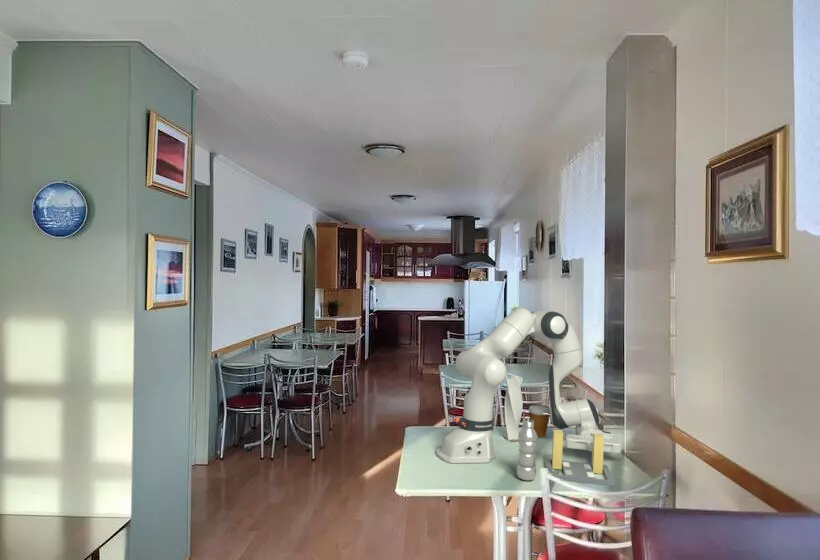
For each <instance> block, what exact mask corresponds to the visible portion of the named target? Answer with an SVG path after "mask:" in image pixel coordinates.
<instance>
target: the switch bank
mask: <svg viewBox="0 0 820 560" xmlns="http://www.w3.org/2000/svg"><path fill="white" fill-rule="evenodd" d="M591 464H592V462H591V463H590V462H580V461H574V460H573V461H572V460H563V459H562V469H561V470H562V473H563V474H559V473H558V474H557V473H554V471H553V469H552V458H544V467H546V468H547V469H548V471H549V473H551V474H552V475H553V476H555V477H558V478H560V479H563V480H567V481H566V482H572V483H573V482H574V483H581V484H582V483H585V484H593V485H600V486H610V487H615V486H616V481H615V478H614V477H613V475H612V473H611V471H610V469H609V466H608V465H607V464H603V472H602V474H603V477H604V479H603V478H596V475H595V473H593V470H592V468H591ZM563 480H562V481H563Z"/></svg>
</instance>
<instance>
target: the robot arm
mask: <svg viewBox="0 0 820 560" xmlns="http://www.w3.org/2000/svg"><path fill="white" fill-rule="evenodd" d="M491 331H492V332H490V333H489V334H488V335H487V336H486V337H485V338H484V339H482V340H481V341H479V342H478V343H476V344H475V345H473V346H472V347H470V348H469V349H466V350H464V351H461V352H460V353H459V354H458V355H457V356H456V357H455V358H456V359H455V368H456V370H457V371H458V373H459V374H461V375H462V376H463V377H464V378H467V379H470V380H471V385H470V388H469V389H470V391H469V392H468V393H467V392H466V393H467V394H465V395H464V397H463V412H462V413H463V414H462V417H461V418H459V416H455V417H453V418H454V419H453V420H454V423H456V424H458V426H457V427H455V428H454V429H453V430H452V431H450V432H449V433H448V434H447V435H445V437H443V440H442V445H441V447H440V448H439V447H438V448H436V450H435V454H436V456H437V457H438V458H440V459H441V461H444V462H446V463H450V464H482V463H483V464H488V463H490V462H491V460H493V459H494V458H496V453H495V450H494V441H493V432H494V418H493V411H494V400H495V394H496V392H497V389H498V387H499V386H500V385H501V384H502V383H503V382H504V381H505V379H506V375H507V374H506V373H508V371H507V367H506V364H505V363H504V362H503V361H502V360H501V359H504V358H507V357H509V356H510V355H512V353H514V352H515V350H516V349H517V348H518V347H519V346H520V344H521V343H523V341H524V340H525V339H526V337H527V336H528V337H531V338H536V339H540V340H549V341H550V343H551V345H552V347H551V348H552V351H553V363H552V364H551V365H550V366H549V369H548V387H549V389H548V390H549V401H550V403H549V405H550V407H549V408H550V415H549V420H550V422H551V424H552V426H554V427H555V428H557V429H558V430H564V429H567V428H569V427H570V428H571V427H574V430H575V431H574V432H575V434H572V433H571V434H570V433H568V434H566V436H565V435H563V441H565V443H564V444H565V447H566V448H567V449H574V450H582V451H583V450H584V451H587V452H591V453H592V443H593V433H596V434H602V435H603V436H604V451H603V453H614V454H620V453H621V454H622V445H623V444H622V442H621V441H620V440H619V438H617V437H616V436H615V434H614V433H613V432H610V431H605V430H601V429H600V428H598V426H599V423H600V416H599V413H598V410H597V409H598V408H596V405H595V403H593V401H592V400H590V399H588V398H582V399H581V398H580V399H577V400H572V401H568V402H561V396H560V395H561V394H560V393H561V392H560V385H561V382H562V381H563V379H565V378H566V377H567V376H569V375H570V374H572V373H574V372H575V371H577V370H578V369H579V368H580V366H581V365H582V363H583V359H584V355H583V349H582V346H581V342H580V340H579V336H578V334H577V331H576V329H575V327H574V326H573V324H571V323H568V322H567V320H566V318H565V316H564V315H563V314H561V313H559V312H557V311H554V310H553V311H552V310H551V311H547V310H539V311H538V310H537V311H530V310H528V309H527V308H525V307H518V308H515V309H514V310H512V311H511V312H510V313H509V314H508V315H506V316H505V317H504V318H503V319H502V320H501V321H500V323H499V324H497V326H496V327H495V328H494V329H493V330H491Z"/></svg>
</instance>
